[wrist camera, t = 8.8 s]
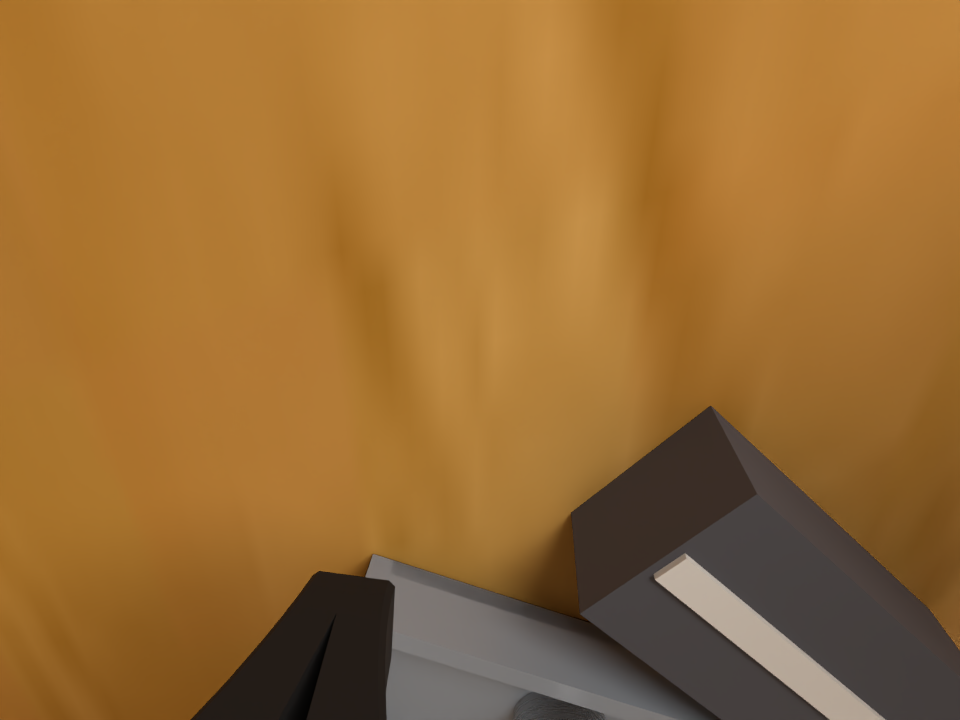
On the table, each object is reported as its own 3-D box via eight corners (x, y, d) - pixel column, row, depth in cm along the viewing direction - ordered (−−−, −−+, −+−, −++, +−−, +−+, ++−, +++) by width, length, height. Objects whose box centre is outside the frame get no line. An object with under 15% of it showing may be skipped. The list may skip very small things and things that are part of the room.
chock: (923, 601, 16) (1021, 735, 13) (782, 676, 18) (838, 812, 15) (707, 400, 14) (760, 499, 11) (570, 506, 16) (580, 619, 13)
